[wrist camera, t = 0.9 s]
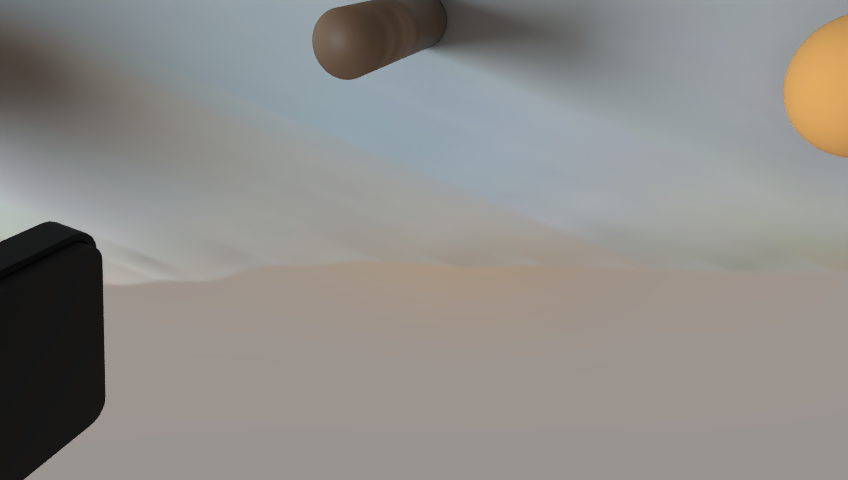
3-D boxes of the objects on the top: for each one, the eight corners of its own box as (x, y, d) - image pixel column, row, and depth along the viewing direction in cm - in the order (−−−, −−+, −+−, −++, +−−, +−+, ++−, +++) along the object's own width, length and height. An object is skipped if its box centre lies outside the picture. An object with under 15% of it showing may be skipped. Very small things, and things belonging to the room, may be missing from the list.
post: (455, 7, 31) (387, 27, 24) (432, 57, 32) (361, 92, 25) (407, -19, 31) (326, -6, 24) (386, 32, 32) (303, 59, 25)
